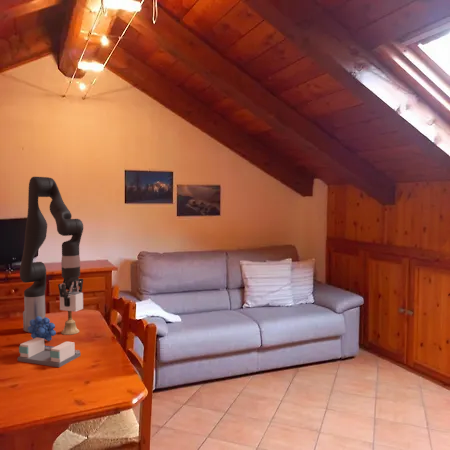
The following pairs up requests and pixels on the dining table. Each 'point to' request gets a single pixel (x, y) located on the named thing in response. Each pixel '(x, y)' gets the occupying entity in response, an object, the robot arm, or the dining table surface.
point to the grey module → (73, 302)
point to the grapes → (42, 328)
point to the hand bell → (70, 326)
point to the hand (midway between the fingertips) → (71, 304)
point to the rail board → (47, 353)
